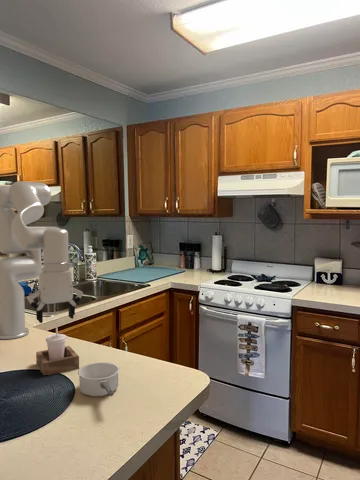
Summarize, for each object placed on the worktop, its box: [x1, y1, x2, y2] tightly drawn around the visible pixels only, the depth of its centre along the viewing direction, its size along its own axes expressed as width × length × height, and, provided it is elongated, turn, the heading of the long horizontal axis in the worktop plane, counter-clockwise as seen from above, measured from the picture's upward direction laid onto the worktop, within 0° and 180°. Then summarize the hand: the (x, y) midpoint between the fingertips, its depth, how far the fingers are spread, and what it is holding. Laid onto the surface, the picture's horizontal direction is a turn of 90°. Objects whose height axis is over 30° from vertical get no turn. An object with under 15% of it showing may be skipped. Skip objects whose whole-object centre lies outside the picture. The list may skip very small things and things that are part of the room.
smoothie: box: [45, 322, 67, 360], centre depth 117 cm, size 6×6×14 cm
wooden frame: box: [35, 345, 80, 376], centre depth 117 cm, size 11×11×4 cm
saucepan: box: [77, 361, 120, 397], centre depth 98 cm, size 12×20×6 cm, turn 25°
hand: (56, 319), depth 117 cm, fingers open, 9 cm apart
